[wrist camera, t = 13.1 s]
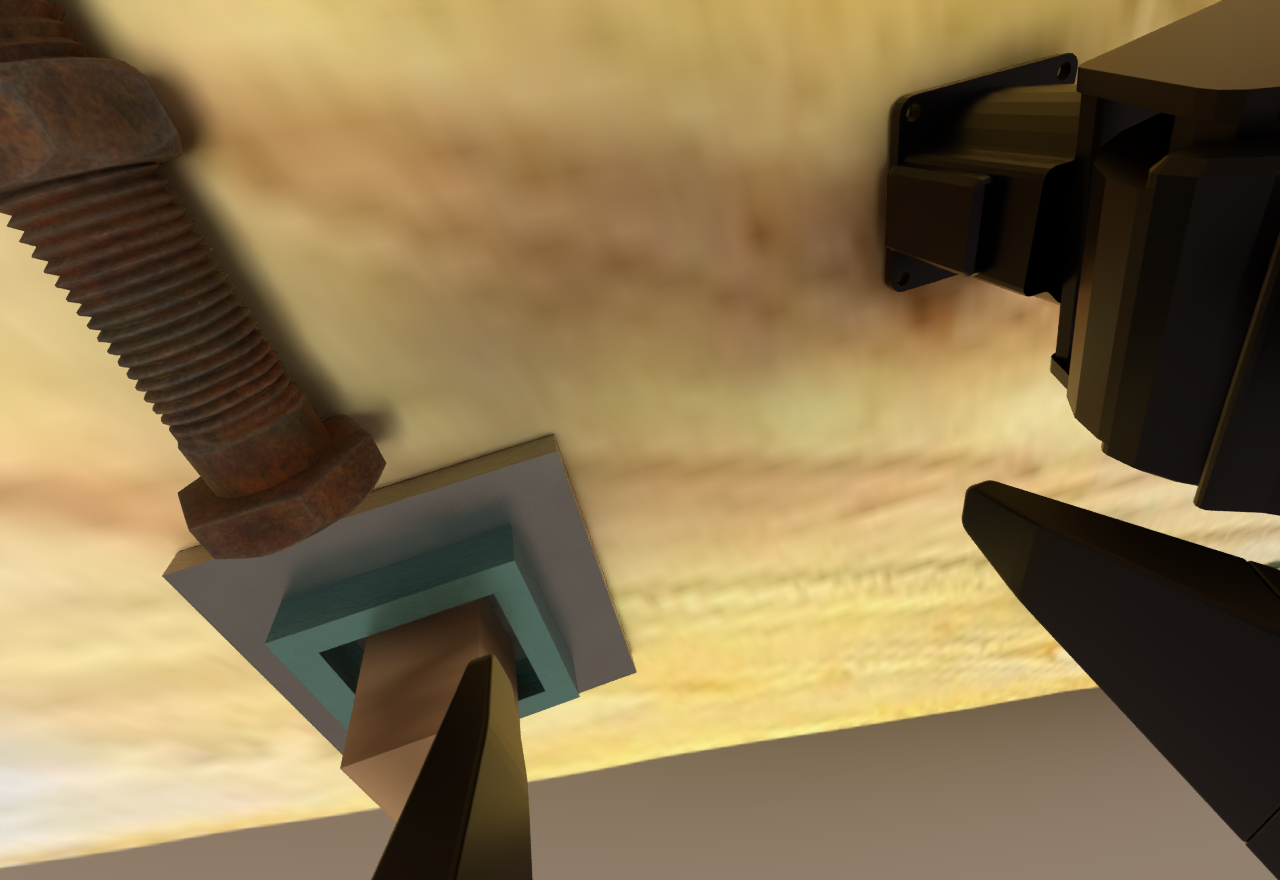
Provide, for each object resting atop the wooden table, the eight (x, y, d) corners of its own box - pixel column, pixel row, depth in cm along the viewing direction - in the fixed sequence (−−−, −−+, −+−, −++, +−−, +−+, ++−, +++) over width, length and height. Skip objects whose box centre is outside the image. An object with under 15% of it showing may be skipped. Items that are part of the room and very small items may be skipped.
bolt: (37, -91, 13) (349, 437, 21) (-297, -85, 10) (202, 513, 18) (12, -231, 9) (410, 488, 17) (-536, -275, 6) (232, 594, 14)
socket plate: (553, 434, 21) (564, 481, 19) (631, 652, 29) (646, 708, 26) (177, 552, 20) (131, 621, 17) (364, 747, 28) (352, 816, 25)
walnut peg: (479, 582, 22) (479, 718, 18) (514, 647, 25) (523, 783, 20) (371, 618, 22) (340, 768, 17) (417, 681, 24) (402, 828, 20)
